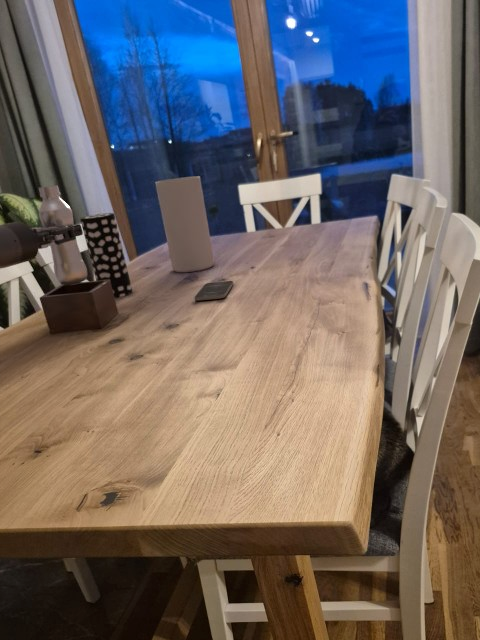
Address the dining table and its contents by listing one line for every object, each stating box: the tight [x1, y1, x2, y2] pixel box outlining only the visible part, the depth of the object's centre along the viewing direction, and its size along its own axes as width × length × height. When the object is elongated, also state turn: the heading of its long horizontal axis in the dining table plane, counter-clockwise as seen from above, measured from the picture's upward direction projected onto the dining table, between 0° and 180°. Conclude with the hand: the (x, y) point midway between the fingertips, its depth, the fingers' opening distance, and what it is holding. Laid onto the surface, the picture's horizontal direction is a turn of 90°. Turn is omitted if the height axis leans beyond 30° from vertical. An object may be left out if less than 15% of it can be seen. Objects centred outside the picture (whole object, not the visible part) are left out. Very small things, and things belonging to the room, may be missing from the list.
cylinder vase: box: [154, 175, 215, 273], centre depth 168 cm, size 12×12×25 cm
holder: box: [39, 279, 119, 335], centre depth 128 cm, size 12×12×8 cm
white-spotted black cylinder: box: [79, 212, 133, 299], centre depth 149 cm, size 8×8×20 cm
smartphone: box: [194, 280, 234, 301], centre depth 142 cm, size 8×1×15 cm
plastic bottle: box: [38, 185, 88, 285], centre depth 122 cm, size 6×7×20 cm
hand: (68, 230), depth 123 cm, fingers closed on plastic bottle, 6 cm apart
